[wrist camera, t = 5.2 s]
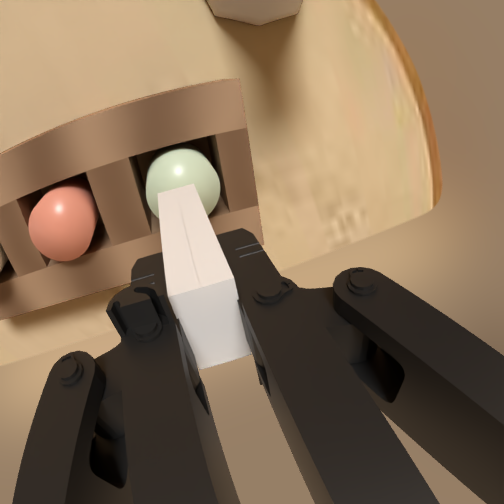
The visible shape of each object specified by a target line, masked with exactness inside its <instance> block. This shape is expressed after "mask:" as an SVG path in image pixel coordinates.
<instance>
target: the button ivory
mask: <svg viewBox="0 0 504 504" xmlns="http://www.w3.org/2000/svg"><path fill="white" fill-rule="evenodd" d="M7 260H8V257H7V255H6V253H5V251H4V249H3V247H2V245H1V243H0V272H1V270H2V269H3V267H4V265H5V264H6V262H7Z"/></svg>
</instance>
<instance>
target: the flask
mask: <svg viewBox="0 0 504 504" xmlns="http://www.w3.org/2000/svg"><path fill="white" fill-rule="evenodd" d="M302 1H303V0H207V2H208V4H209V6H210V8H211V9H212V11H213V13H214V15H215V16H218V17H223V18H228V19H232V20H237V21H241V22H245V23H250V24H254V25H257V26H260V25H263V24H266V23H269V22H272V21H275V20H278V19H282V18H285V17H288V16H292V15H295V14H297V13H298V11H299V9H300V6H301V4H302Z"/></svg>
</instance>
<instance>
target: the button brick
mask: <svg viewBox="0 0 504 504" xmlns="http://www.w3.org/2000/svg"><path fill="white" fill-rule="evenodd" d="M99 215H100V212H99V209H98V206H97V203H96V200H95V198H94V195H93V192H92V189H91V186H90V183H89V182H88V181H86V180H85V179H82V178H80V177H74V176H72V177H69V178H67V179H64V180H61V181H59V182H56V183H54V184H53V185H52V187H51V188H50V189H49V190H48V191H47V193H46V194H45V195H44V196H43V197H42V199H41V200H40V201H39V202H38V204H37V205H36V206H35V207H34V209H33V210H32V212H31V215H30V218H29V224H28V227H29V234H30V237H31V240H32V242H33V244H34V245H35V247H36V248H37V249H38V250H39V251H40V252H41V253H42V254H43V255H45V256H46V257H48V258H50V259H53V260H56V261H70V260H74V259H76V258H78V257H80V256H81V255H82V254H83V253H84V252H85V251H86V250H87V248H88V247H89V245H90V242H91V239H92V236H93V233H94V230H95V227H96V224H97V221H98V218H99Z"/></svg>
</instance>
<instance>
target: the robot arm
mask: <svg viewBox="0 0 504 504" xmlns="http://www.w3.org/2000/svg"><path fill="white" fill-rule="evenodd" d="M158 208H159V220H160V232H161V242H162V252H160V253H156V254H153V255H149V256H146V257H143V258H139V259H137V261H136V262H135V264H134V266H133V268H132V269H131V286H130V287H127V288H125V289H123V290H122V291H120V292H119V293H117V294H116V295H115V296H114V297H113V298H112V300H111V301H110V302H109V304H108V307H107V310H106V312H107V314H108V316H109V317H110V319H111V321H112V323H113V324H114V326H115V328H116V330H117V331H118V333H119V335H120V336H121V343H120V344H118V345H117V346H116V347H115V348H113V349H112V350H110V351H108V352H107V353H105V354H103V355H101V356H99V357H97V358H96V359H94V358H93V357H92V356H91V355H89V354H88V353H87V352H83V351H75V352H71V353H68V354H66V355H65V356H63V357H61V358H60V359H59V360H58V361H57V362H56V363H55V364H54V366H53V367H52V369H51V371H50V373H49V376H48V378H47V381H46V384H45V387H44V389H43V392H42V395H41V398H40V401H39V404H38V407H37V410H36V413H35V416H34V419H33V422H32V425H31V429H30V432H29V435H28V439H27V442H26V446H25V450H24V453H23V457H22V461H21V465H20V470H19V474H18V478H17V483H16V487H15V493H14V498H13V503H12V504H240V501H239V499H238V496H237V493H236V490H235V487H234V484H233V481H232V478H231V475H230V472H229V469H228V465H227V462H226V459H225V456H224V453H223V450H222V446H221V443H220V440H219V437H218V433H217V430H216V426H215V423H214V420H213V416H212V412H211V409H210V405H209V401H208V397H207V394H206V390H205V386H204V384H203V382H202V380H201V378H200V376H199V372H198V368H199V370H202V369H205V368H209V367H212V366H215V365H219V364H222V363H226V362H229V361H232V360H235V359H239V358H242V357H245V356H248V355H251V352H252V354H253V356H254V360H255V364H256V368H257V373H258V377H259V381H260V385H262V384H263V386H264V388H265V391H266V393H267V396H268V398H269V400H270V403H271V405H272V408H273V410H274V412H275V415H276V417H277V419H278V421H279V424H280V426H281V429H282V431H283V433H284V436H285V438H286V440H287V443H288V445H289V447H290V449H291V452H292V454H293V456H294V458H295V461H296V463H297V465H298V467H299V469H300V472H301V474H302V476H303V478H304V481H305V483H306V485H307V487H308V489H309V491H310V494H311V496H312V498H313V500H314V502H315V504H439V502H438V501H437V499H436V497H435V496H434V494H433V492H432V491H431V489H430V488H429V486H428V484H427V483H426V481H425V480H424V478H423V476H422V475H421V473H420V472H419V470H418V468H417V467H416V465H415V464H414V462H413V461H412V459H411V457H410V456H409V454H408V453H407V451H406V449H405V448H404V446H403V445H402V443H401V442H400V440H399V439H398V437H397V435H396V434H395V432H394V431H393V429H392V428H391V426H390V425H389V423H388V421H387V420H386V418H385V417H384V415H383V414H382V412H383V413H384V414H385V415H386V416H388V417H389V418H390V419H391V420H392V421H393V422H394V423H395V424H396V425H397V426H399V427H400V428H401V429H402V430H403V431H404V432H405V433H406V434H408V436H410V437H411V438H412V439H413V440H414V441H415V442H416V443H417V444H418V445H420V446H421V447H422V448H423V449H424V450H425V451H426V452H428V453H429V454H430V455H431V456H432V457H433V458H435V460H437V461H438V462H439V463H440V464H441V465H442V466H444V467H445V468H446V469H447V470H448V471H449V472H450V473H452V474H453V475H454V476H455V477H456V478H457V479H458V480H460V481H461V482H462V483H463V484H464V485H465V486H467V487H468V488H469V489H470V490H471V491H472V492H474V493H475V494H476V495H477V496H478V497H479V498H481V499H482V500H483V501H484V502H485V503H487V504H504V356H503V355H502V354H500V353H499V352H498V351H496V350H495V349H493V348H492V347H491V346H489V345H488V344H487V343H485V342H483V341H482V340H481V339H479V338H478V337H477V336H475V335H474V334H472V333H471V332H469V331H468V330H466V329H465V328H464V327H462V326H461V325H459V324H458V323H456V322H455V321H453V320H452V319H450V318H449V317H448V316H446V315H445V314H443V313H442V312H440V311H438V310H437V309H435V308H434V307H433V306H431V305H430V304H428V303H427V302H425V301H424V300H422V299H420V298H419V297H417V296H416V295H414V294H413V293H411V292H410V291H408V290H407V289H405V288H404V287H402V286H400V285H399V284H397V283H395V282H394V281H393V280H391V279H389V278H388V277H386V276H385V275H383V274H381V273H380V272H378V271H375V270H373V269H370V268H363V267H358V268H350V269H348V270H345V271H342V272H341V273H340V274H339V275H338V276H336V278H335V281H334V283H333V287H327V288H316V289H305V288H299V287H298V286H297V285H296V284H295V283H294V282H292V280H290V279H287V278H285V277H282V276H281V275H280V274H279V272H278V271H277V269H276V268H275V266H274V265H273V263H272V262H271V260H270V259H269V257H268V255H267V254H266V252H265V251H264V250H263V248H262V246H261V245H260V243H259V242H258V240H257V239H256V237H255V236H254V234H253V233H251V232H249V231H247V230H245V229H243V228H240V229H236V230H233V231H229V232H225V233H222V234H218V235H215V233H214V230H213V228H212V226H211V223H210V221H209V219H208V216H207V214H206V212H205V209H204V207H203V204H202V202H201V200H200V197H199V195H198V193H197V190H196V188H195V185H194V184H190V185H186V186H183V187H179V188H175V189H172V190H168V191H165V192H161V193H158ZM250 349H251V350H250ZM197 366H198V368H197ZM380 410H381V411H382V412H381V411H380Z"/></svg>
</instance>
